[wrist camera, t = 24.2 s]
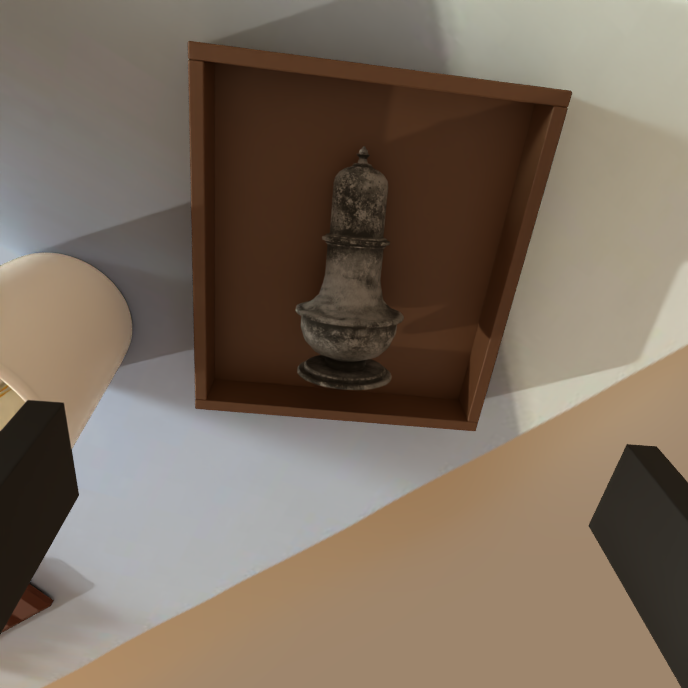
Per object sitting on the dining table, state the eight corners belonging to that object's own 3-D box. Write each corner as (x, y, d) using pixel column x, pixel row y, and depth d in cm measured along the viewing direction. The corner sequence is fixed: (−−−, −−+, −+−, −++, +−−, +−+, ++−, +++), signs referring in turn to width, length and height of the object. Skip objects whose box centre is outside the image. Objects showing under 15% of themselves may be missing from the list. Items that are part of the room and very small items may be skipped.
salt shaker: (269, 371, 28) (280, 137, 25) (332, 352, 33) (348, 152, 30) (359, 401, 25) (385, 137, 22) (415, 374, 30) (442, 154, 27)
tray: (465, 404, 35) (475, 431, 33) (205, 382, 34) (195, 409, 32) (549, 89, 27) (573, 91, 24) (202, 43, 25) (187, 40, 23)
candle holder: (156, 386, 34) (78, 528, 24) (4, 384, 34) (-145, 527, 23) (133, 239, 30) (22, 335, 19) (-44, 235, 29) (-257, 330, 19)
